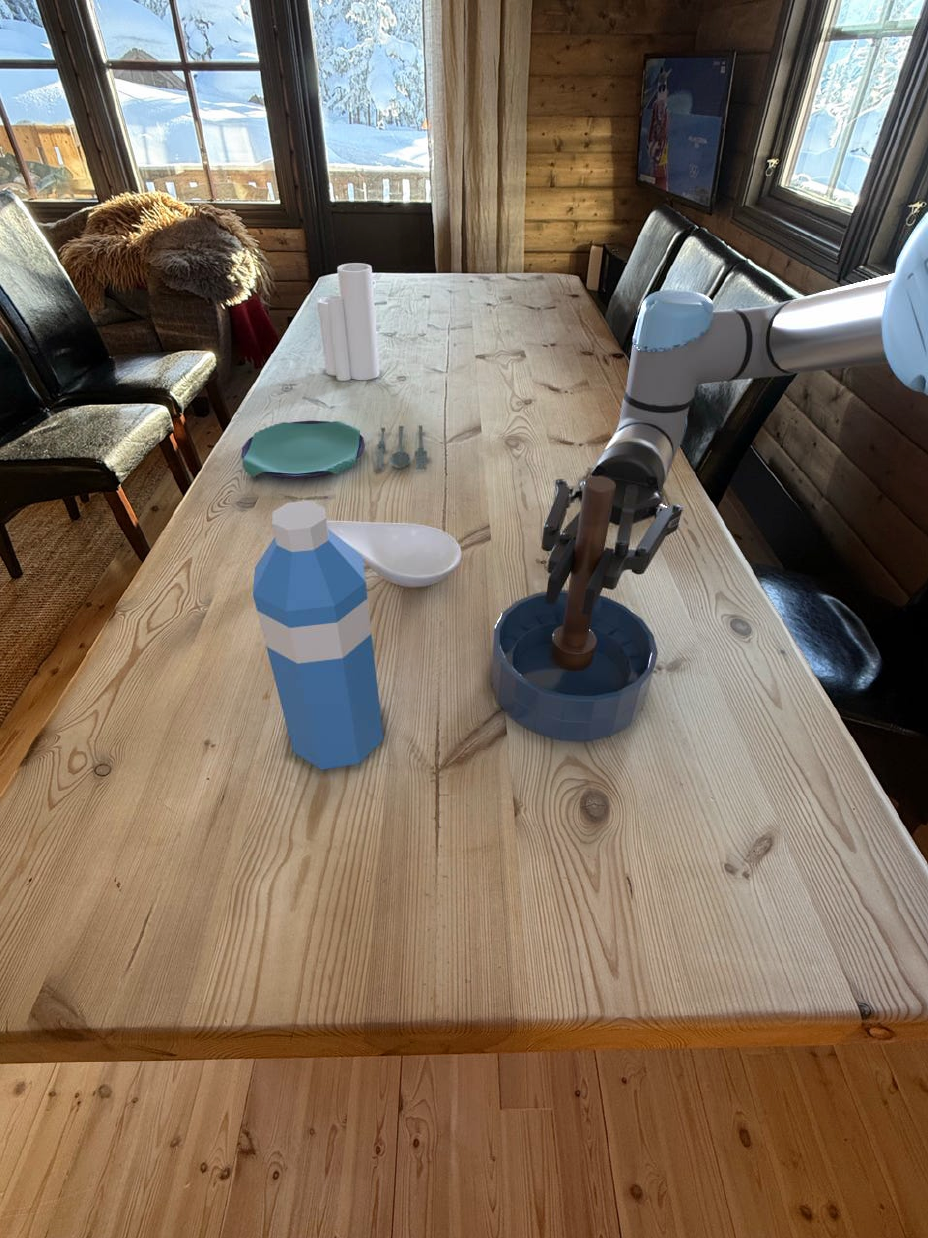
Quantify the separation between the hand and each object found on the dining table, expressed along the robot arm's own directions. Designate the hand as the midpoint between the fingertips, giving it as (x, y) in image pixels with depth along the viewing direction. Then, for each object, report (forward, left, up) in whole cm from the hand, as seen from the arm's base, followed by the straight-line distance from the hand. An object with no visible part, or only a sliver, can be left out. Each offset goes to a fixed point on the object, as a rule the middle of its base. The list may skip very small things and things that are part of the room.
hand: (569, 596), depth 56 cm
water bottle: (+16, +15, -16) cm, 27 cm away
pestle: (+2, -5, -12) cm, 13 cm away
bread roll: (+18, -45, -16) cm, 51 cm away
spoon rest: (+32, -5, -16) cm, 36 cm away
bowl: (+2, -5, -16) cm, 17 cm away
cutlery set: (+59, -25, -16) cm, 66 cm away
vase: (+84, -51, -16) cm, 99 cm away
